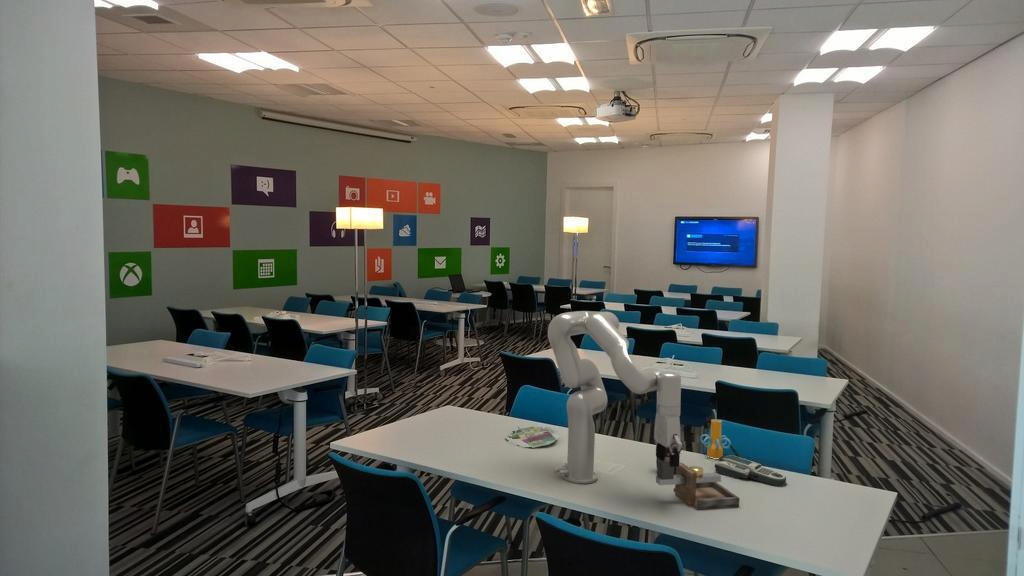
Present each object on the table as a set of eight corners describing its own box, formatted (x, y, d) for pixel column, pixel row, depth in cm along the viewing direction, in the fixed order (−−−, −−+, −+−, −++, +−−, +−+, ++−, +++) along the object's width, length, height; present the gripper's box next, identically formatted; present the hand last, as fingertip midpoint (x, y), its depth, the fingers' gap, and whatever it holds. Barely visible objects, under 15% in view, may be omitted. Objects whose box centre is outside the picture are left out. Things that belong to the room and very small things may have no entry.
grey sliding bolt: (660, 485, 205) (661, 461, 205) (655, 481, 209) (656, 457, 209) (721, 482, 210) (722, 458, 210) (715, 477, 214) (716, 454, 214)
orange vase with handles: (711, 463, 248) (713, 425, 247) (694, 454, 258) (695, 418, 257) (735, 459, 253) (737, 422, 252) (717, 451, 263) (719, 416, 262)
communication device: (778, 492, 221) (780, 467, 221) (713, 473, 237) (714, 450, 236) (790, 483, 230) (791, 459, 230) (726, 465, 246) (727, 443, 245)
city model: (492, 442, 275) (491, 428, 274) (534, 427, 288) (534, 415, 288) (528, 459, 255) (527, 445, 254) (571, 443, 268) (570, 429, 268)
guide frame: (694, 510, 202) (695, 476, 201) (670, 491, 218) (672, 459, 217) (739, 507, 206) (740, 473, 205) (712, 488, 221) (714, 457, 220)
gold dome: (693, 478, 208) (693, 471, 208) (686, 473, 212) (687, 466, 212) (705, 477, 209) (705, 470, 208) (698, 472, 213) (699, 465, 213)
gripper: (646, 404, 214) (645, 454, 215) (670, 417, 197) (669, 471, 198) (666, 403, 216) (665, 453, 216) (692, 415, 199) (690, 469, 200)
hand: (667, 461), depth 207 cm, fingers open, 9 cm apart
